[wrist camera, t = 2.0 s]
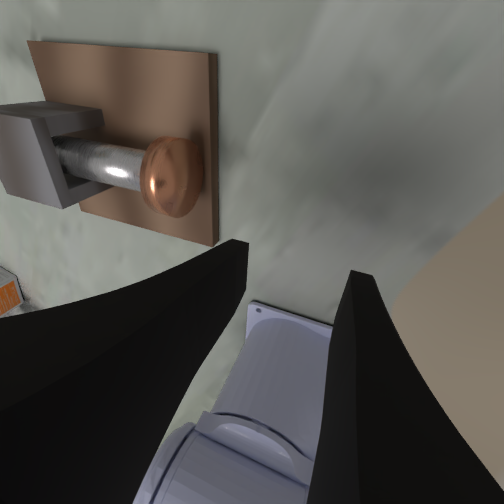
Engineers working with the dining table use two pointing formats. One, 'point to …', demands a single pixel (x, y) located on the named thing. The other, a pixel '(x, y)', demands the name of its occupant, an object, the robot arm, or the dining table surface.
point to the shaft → (139, 169)
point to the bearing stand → (114, 128)
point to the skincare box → (9, 292)
